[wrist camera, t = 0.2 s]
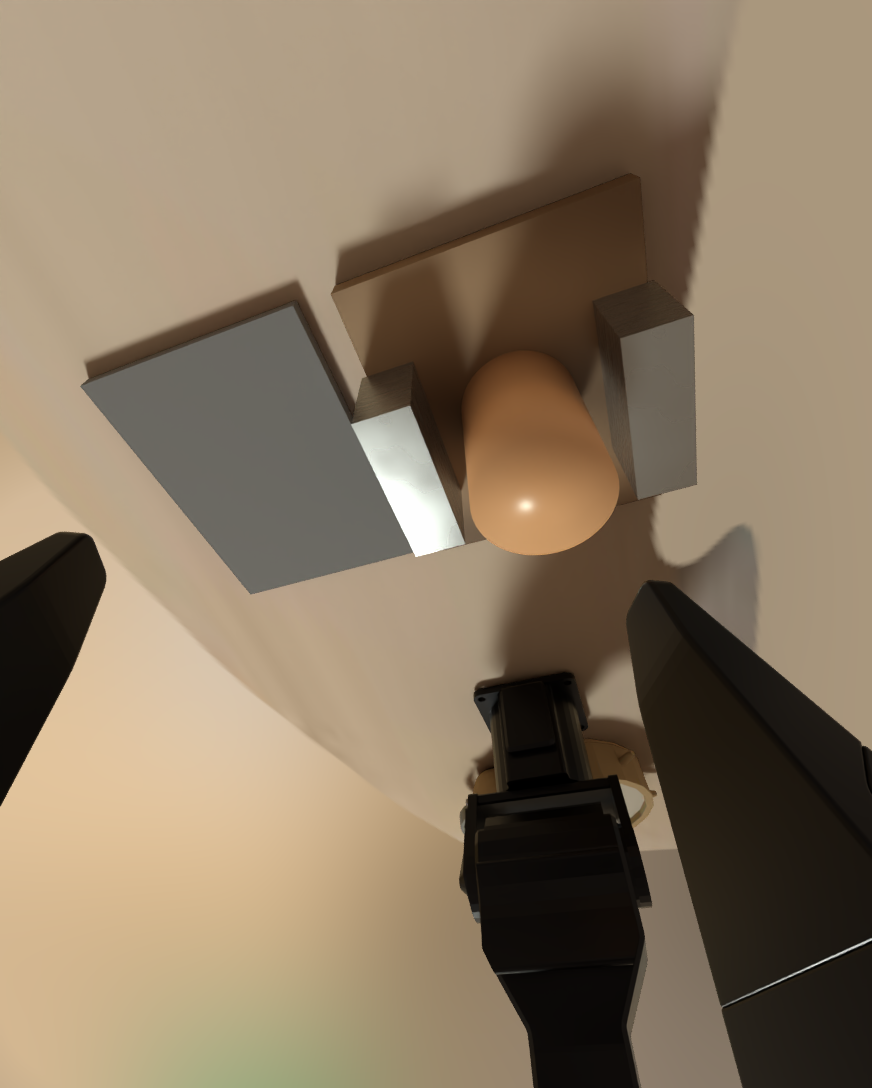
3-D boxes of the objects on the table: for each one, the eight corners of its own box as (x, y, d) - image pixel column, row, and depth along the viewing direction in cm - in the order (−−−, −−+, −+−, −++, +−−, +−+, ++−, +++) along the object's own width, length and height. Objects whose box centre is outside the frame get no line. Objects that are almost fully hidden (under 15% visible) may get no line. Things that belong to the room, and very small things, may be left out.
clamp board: (654, 481, 24) (662, 494, 23) (442, 536, 26) (443, 550, 25) (630, 173, 16) (640, 177, 16) (334, 285, 18) (330, 294, 18)
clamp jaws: (663, 434, 21) (696, 484, 18) (417, 502, 23) (415, 556, 21) (653, 280, 17) (693, 315, 15) (361, 378, 20) (351, 424, 17)
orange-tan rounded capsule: (584, 438, 21) (626, 535, 17) (478, 469, 22) (490, 568, 18) (566, 333, 19) (610, 414, 14) (446, 372, 19) (450, 460, 15)
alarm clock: (671, 821, 42) (500, 890, 44) (641, 764, 46) (486, 830, 48) (637, 759, 35) (438, 844, 37) (606, 698, 39) (428, 778, 41)
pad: (414, 544, 26) (413, 552, 26) (253, 586, 28) (250, 594, 28) (296, 300, 19) (292, 305, 18) (88, 379, 21) (80, 386, 20)
